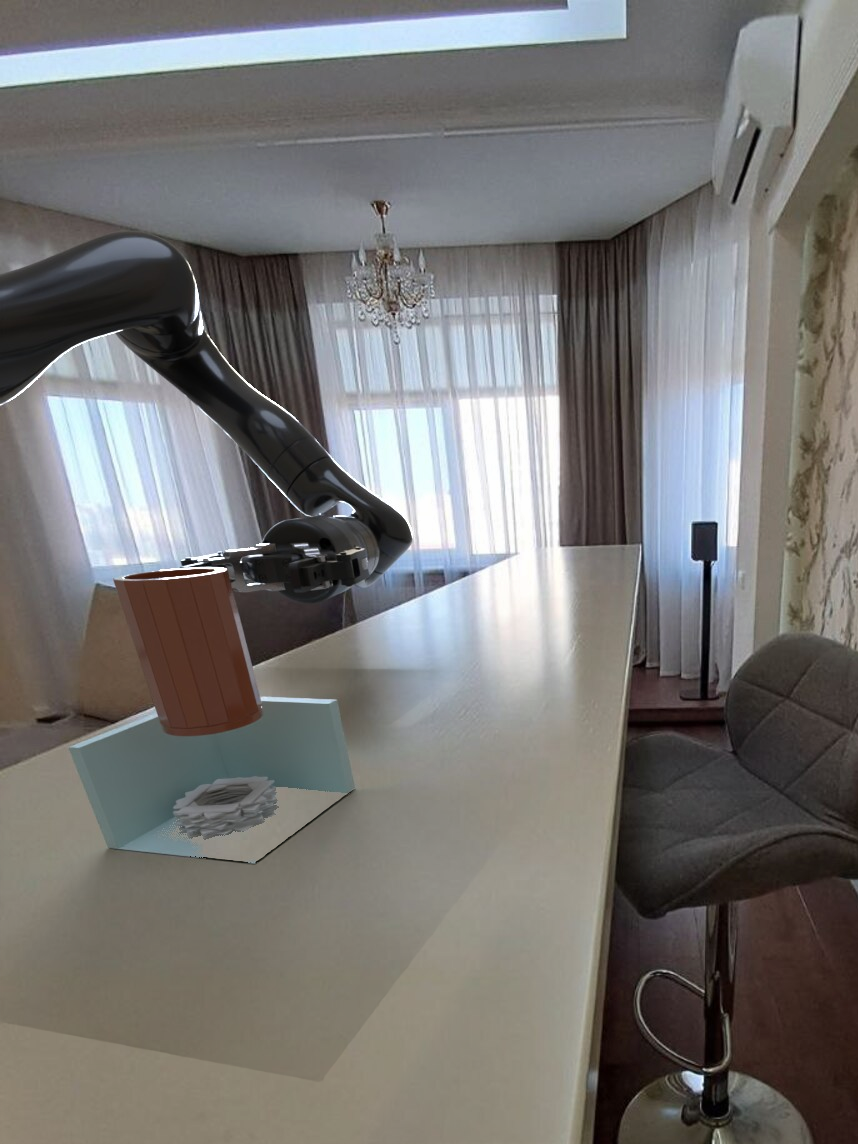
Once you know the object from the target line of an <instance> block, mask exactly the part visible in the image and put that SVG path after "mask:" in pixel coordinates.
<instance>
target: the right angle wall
mask: <svg viewBox="0 0 858 1144" xmlns="http://www.w3.org/2000/svg"><path fill="white" fill-rule="evenodd" d="M260 699H261V702H262V709H263V716H262V717H261V718H260V719H259V720H257V721H255V722H254V723H251V724H249V725H247V726H244V727H241V728H238V729H235V730H231V731H227V732H222V733H217V734H210V735H202V736H173V735H169V734H166V733H165V732H164V731H163V730H162V727H161V724H160V721H159V718H158V715H157V712H155V713H153V714H150V715H148V716H145V717H142V718H140V719H137V720H135V721H132V722H130V723H127V724H124V725H122V726H119V727H116V728H114V729H111V730H109V731H106V732H103V733H100V734H98V735H96V736H93V737H90V738H88V739H86V740H83V741H80V742H78V743H75V744H73V745H70V746H68V747H67V748H68V751H69V753H70V755H71V757H72V760H73V763H74V765H75V768H76V771H77V773H78V776H79V778H80V781H81V783H82V786H83V788H84V791H85V794H86V797H87V798H88V801H89V803H90V807H91V809H92V811H93V814H94V815H95V819H96V822H97V824H98V826H99V829H100V832H101V834H102V836H103V839H104V841H105V844H106V847H107V848H108V849H115V850H124V851H132V852H133V851H134V852H143V853H150V854H151V853H152V854H161V855H171V856H179V857H189V858H199V857H200V856H201V854H200V853H201V852H202V851H203V850H202V849H203V848H202V847H203V846H202V845H203V844H202V845H201V844H200V845H201V846H202V847H201V846H200V845H199V844H198V845H199V846H200V847H201V848H202V849H201V848H200V847H199V846H198V845H197V843H196V842H195V843H196V844H195V843H194V842H193V843H194V844H195V845H194V844H193V843H192V842H191V841H189V840H188V841H187V839H188V838H189V839H190V838H191V839H192V838H193V837H198V836H201V835H202V836H203V839H204V840H206V839H209V838H212V837H215V836H219V835H220V836H221V835H222V836H223V835H224V834H225V835H229V834H231V833H232V832H233V831H235V832H236V831H237V832H241V831H242V832H244V831H246V830H248V829H249V828H251V827H254V826H256V825H259V824H262V823H264V822H265V821H264V820H265V819H264V818H268V817H272V816H274V815H276V814H275V813H274V810H276V809H277V808H279V806H277V805H274V804H276V803H277V801H278V800H277V798H276V797H275V795H276V793H277V792H275V791H276V787H288V788H297V789H298V788H299V789H306V790H307V789H308V790H318V791H325V792H326V791H327V792H328V791H329V792H341V793H348V792H350V791H351V790H352V789H354V788H355V789H356V784H355V781H354V776H353V770H352V766H351V761H350V756H349V752H348V751H349V750H348V747H347V741H346V736H345V732H344V728H343V727H344V726H343V722H342V717H341V712H340V708H339V703H338V699H330V698H329V699H328V698H308V697H307V698H306V697H281V696H262V695H260ZM178 819H179V820H178ZM176 820H177V821H176ZM173 822H174V824H173ZM175 822H176V823H175ZM170 825H171V826H170ZM172 825H173V826H172ZM174 825H175V826H176V827H175V826H174ZM177 826H178V828H179V826H180V828H179V830H180V831H181V830H182V831H181V832H179V833H180V834H181V833H182V834H183V833H187V836H188V838H187V837H186V838H187V839H186V838H185V837H183V838H184V839H183V838H182V837H181V836H180V834H179V833H178V832H177V831H176V832H177V833H178V834H179V836H180V837H181V838H182V839H183V840H184V841H185V840H186V841H187V842H186V841H185V842H184V841H183V840H182V839H181V838H180V837H179V836H178V835H177V834H176V835H177V836H178V837H179V838H180V839H181V840H182V841H181V840H180V839H179V838H177V839H178V840H177V839H176V837H177V836H176V837H174V836H173V837H174V838H175V839H176V840H177V841H176V840H175V839H174V838H173V837H172V836H171V834H172V832H173V830H174V829H175V830H176V828H177ZM181 826H182V827H181ZM169 827H170V828H169ZM171 827H172V828H171ZM173 827H174V828H173ZM163 828H164V829H163ZM170 829H171V830H170ZM172 829H173V830H172ZM162 830H163V831H162ZM164 830H165V831H164ZM166 830H167V831H168V830H169V831H170V832H169V831H168V832H167V831H166ZM175 830H174V832H175ZM177 830H178V829H177ZM158 831H159V832H158ZM171 831H172V832H171ZM161 832H162V833H161ZM165 832H166V833H167V834H166V833H165ZM168 833H169V834H170V833H171V834H170V836H171V837H172V838H173V839H174V840H175V841H176V842H175V841H174V840H173V839H172V838H171V837H170V836H169V834H168ZM158 834H159V835H158ZM160 834H161V835H160ZM162 834H163V835H164V834H165V835H166V836H167V837H166V836H165V835H164V836H162ZM173 834H174V833H173ZM173 834H172V835H173ZM182 834H181V835H182ZM154 835H155V836H154ZM174 835H175V834H174ZM183 835H184V834H183ZM185 835H186V834H185ZM225 835H224V836H225ZM159 836H160V837H161V838H160V837H159ZM168 836H169V837H170V838H171V839H170V838H169V837H168ZM158 837H159V838H158ZM165 838H166V839H165ZM164 839H165V840H164ZM190 842H191V843H192V844H191V843H190ZM192 846H193V847H194V846H195V847H196V846H197V847H199V848H200V849H201V850H202V851H201V850H200V849H199V848H197V847H196V848H195V847H194V848H195V849H194V848H193V847H192ZM198 849H199V850H200V851H201V852H200V851H199V850H198ZM197 850H198V851H199V852H200V853H199V852H198V851H197ZM192 852H193V853H194V852H195V853H194V854H193V853H192ZM196 852H198V853H199V854H200V855H199V854H198V853H197V854H198V855H197V854H196ZM191 853H192V854H191ZM190 854H191V855H190ZM196 855H197V856H196ZM190 856H191V857H190ZM195 856H196V857H195ZM202 856H203V855H202ZM202 856H201V857H202ZM204 856H205V855H204ZM204 856H203V857H204ZM201 857H200V858H199V859H204V858H203V857H202V858H201ZM251 860H252V859H251ZM251 860H250V861H251ZM247 861H248V860H247ZM247 861H246V862H247ZM250 861H249V862H248V863H247V864H256V863H255V862H256V861H255V862H254V863H253V861H254V860H253V861H252V862H251V863H250Z"/></svg>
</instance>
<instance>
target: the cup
mask: <svg viewBox="0 0 858 1144" xmlns="http://www.w3.org/2000/svg"><path fill="white" fill-rule="evenodd" d="M112 580H113V584H114V587H115V590H116V592H117V596H118V599H119V602H120V606H121V608H122V612H123V615H124V618H125V621H126V623H127V626H128V629H129V633H130V636H131V638H132V642H133V645H134V648H135V650H136V654H137V657H138V660H139V664H140V666H141V669H142V673H143V675H144V678H145V682H146V684H147V688H148V691H149V694H150V697H151V700H152V703H153V706H154V709H155V713H157V715H158V718H159V721H160V724H161V727H162V730H163V731H164V732H165V733H166V734H169V735H173V736H202V735H210V734H217V733H222V732H227V731H231V730H235V729H238V728H241V727H244V726H247V725H249V724H251V723H254V722H255V721H257V720H259V719H260V718H261V717H262V716H263V709H262V702H261V699H260V696H261V695H260V691H259V688H258V683H257V679H256V676H255V675H256V674H255V671H254V668H253V664H252V663H253V662H252V660H251V656H250V652H249V648H248V645H247V642H246V636H245V632H244V629H243V625H242V621H241V617H240V613H239V610H238V609H239V608H238V606H237V602H236V597H235V593H234V591H233V589H232V586H231V582H230V578H229V574H228V570H227V569H225V568H215V567H213V568H212V567H207V568H181V569H179V568H170V569H160V570H159V569H158V570H149V571H141V572H133V573H129V574H123V575H119V576H116V577H113V578H112Z"/></svg>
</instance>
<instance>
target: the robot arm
mask: <svg viewBox="0 0 858 1144" xmlns="http://www.w3.org/2000/svg"><path fill="white" fill-rule="evenodd" d="M200 304H201V303H200V299H199V292H198V287H197V283H196V279H195V275H194V273H193V271H192V268H191V266H190V264H189V262H188V260H187V259H186V257H185V256H184V255H183V254H182V252H180V250H179V249H178V248H176V247H175V246H174V245H173V244H172V243H171V242H169V241H168V240H166V239H164V238H162V237H160V236H157V235H155V234H152V233H149V232H145V231H141V230H127V229H126V230H125V229H124V230H118V231H112V232H108V233H104V234H101V235H99V236H96V237H94V238H91V239H88V240H86V241H83V242H82V243H79V244H75V245H74V246H71V247H69V248H67V249H65V250H62V251H60V252H58V253H56V254H53V255H51V256H48V257H46V258H44V259H41V260H39V261H36V262H34V263H30V264H28V265H25V266H22V267H20V268H17V269H14V270H10V271H6V272H4V273H0V406H2V405H4V404H7V403H8V402H10V401H11V400H13V399H15V398H17V396H19V395H20V394H22V393H23V392H24V391H25V390H26V389H27V388H29V387H30V386H31V385H32V384H33V383H34V382H35V381H36V380H38V378H40V377H41V376H42V375H43V374H44V372H46V370H48V369H49V368H50V367H51V366H52V364H53V363H55V362H56V361H57V360H58V359H59V358H61V357H62V356H63V355H64V354H66V353H67V352H69V351H71V350H72V349H73V348H75V347H77V346H80V345H81V344H84V343H86V342H88V341H89V342H90V341H92V340H94V339H98V338H100V337H104V336H107V335H111V334H115V336H116V337H117V338H118V340H120V342H121V343H122V344H123V345H124V346H125V347H126V348H128V349H129V350H130V351H132V353H133V354H134V355H135V356H137V357H138V358H139V359H140V360H141V361H142V362H143V363H145V364H146V365H148V367H150V368H151V369H153V370H154V371H155V372H156V373H158V375H160V376H161V377H162V378H164V380H166V381H167V382H168V383H170V384H171V385H172V386H173V387H174V388H176V389H177V390H178V391H179V392H180V393H182V395H184V396H185V397H186V398H188V399H189V400H190V401H191V402H192V403H193V404H194V405H195V406H196V407H197V408H199V409H200V410H201V411H202V412H203V413H204V414H205V415H206V416H208V417H209V418H210V419H211V420H212V421H213V422H214V423H215V424H216V425H217V426H218V427H219V428H220V429H221V430H223V432H224V433H225V434H226V435H227V436H228V437H229V438H230V439H232V440H233V441H234V443H236V445H238V447H240V448H241V450H242V451H243V452H244V453H245V454H246V455H247V456H248V457H249V458H250V459H251V460H252V462H253V463H254V464H255V465H257V466H258V468H259V469H260V470H261V471H262V472H263V473H264V474H265V476H266V477H267V478H268V479H269V480H270V481H271V482H272V483H273V484H274V485H275V486H276V488H277V489H279V491H280V492H281V493H282V494H283V495H284V496H285V497H286V498H287V500H288V501H290V503H291V504H292V505H293V506H294V507H295V508H296V509H297V510H298V511H300V513H302V514H304V516H307V517H298V518H292V519H285V520H282V521H280V522H278V523H276V524H275V525H273V526H272V527H271V528H270V529H269V530H268V531H267V532H266V534H265V535H264V537H263V540H262V541H261V543H259V544H255V545H254V546H253V547H250V548H249V547H248V548H238V549H228V550H225V551H217V552H216V553H212V554H206V555H200V556H196V557H195V556H194V557H184V559H180V564H181V566H180V567H179V568H178V569H181V568H207V567H212V568H213V567H215V568H225V569H227V570H228V574H229V578H230V582H231V586H232V589H233V592H235V593H242V594H244V593H253V592H259V591H269V592H278V593H279V594H281V595H282V596H283V597H284V598H286V599H289V600H291V601H293V602H296V603H300V604H306V605H311V604H312V605H313V604H319V603H322V602H325V601H327V600H329V599H331V598H333V597H336V596H338V595H340V594H342V593H344V592H346V591H348V590H350V589H351V588H353V587H356V588H360V589H365V588H368V587H371V586H372V585H373V584H375V583H376V582H377V581H378V580H379V579H380V578H381V577H382V576H383V575H385V573H386V572H387V571H388V570H389V569H390V568H391V567H392V566H393V565H394V564H395V563H396V562H397V561H398V560H399V559H400V558H401V557H402V556H403V555H404V554H405V553H406V552H407V551H408V550H409V549H410V547H411V546H412V543H413V531H412V527H411V525H410V523H409V521H408V519H407V518H406V516H405V515H404V514H403V513H402V512H401V511H400V510H399V509H398V508H396V507H394V506H393V505H392V504H390V502H387V501H386V500H385V499H383V498H381V497H379V495H377V494H375V493H374V492H372V491H371V490H369V489H368V488H366V487H365V486H364V485H363V484H361V483H360V482H359V481H357V480H356V479H355V478H353V476H351V475H350V474H349V473H348V472H346V471H345V470H344V469H343V468H342V467H341V466H340V465H339V464H338V463H337V462H336V461H335V460H334V458H332V456H331V455H330V454H329V453H328V452H327V451H326V449H325V448H324V447H323V446H322V445H321V444H320V443H319V442H318V441H317V439H316V438H315V436H313V434H311V432H310V431H309V430H308V429H306V427H305V426H304V425H303V424H302V423H301V422H299V420H297V419H296V417H295V416H293V415H292V414H291V413H290V412H288V411H287V410H286V409H285V408H283V407H282V406H280V405H279V404H277V403H276V402H275V401H273V400H271V399H270V398H268V397H267V396H265V395H264V394H262V393H261V392H260V391H258V390H257V389H256V388H254V387H253V386H252V385H251V384H250V383H248V382H247V381H246V380H245V379H244V378H243V377H242V376H241V375H240V374H239V373H238V372H237V371H236V370H235V369H234V368H233V367H232V365H230V364H229V362H228V361H227V359H226V358H225V357H224V356H223V355H222V353H221V352H220V351H219V348H218V347H217V346H216V345H215V343H214V342H213V340H212V339H211V338H210V335H209V334H208V333H207V331H206V330H205V328H204V326H203V318H202V311H201V306H200ZM341 503H345V504H346V505H348V506H350V507H351V508H352V509H353V511H352V512H351V514H349V515H333V516H326V515H322V514H324V513H326V512H327V511H329V510H330V509H332V508H333V507H335V506H337V505H338V504H341ZM245 577H246V578H247V579H248V580H250V581H252V582H254V583H247V582H246V579H245Z"/></svg>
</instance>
